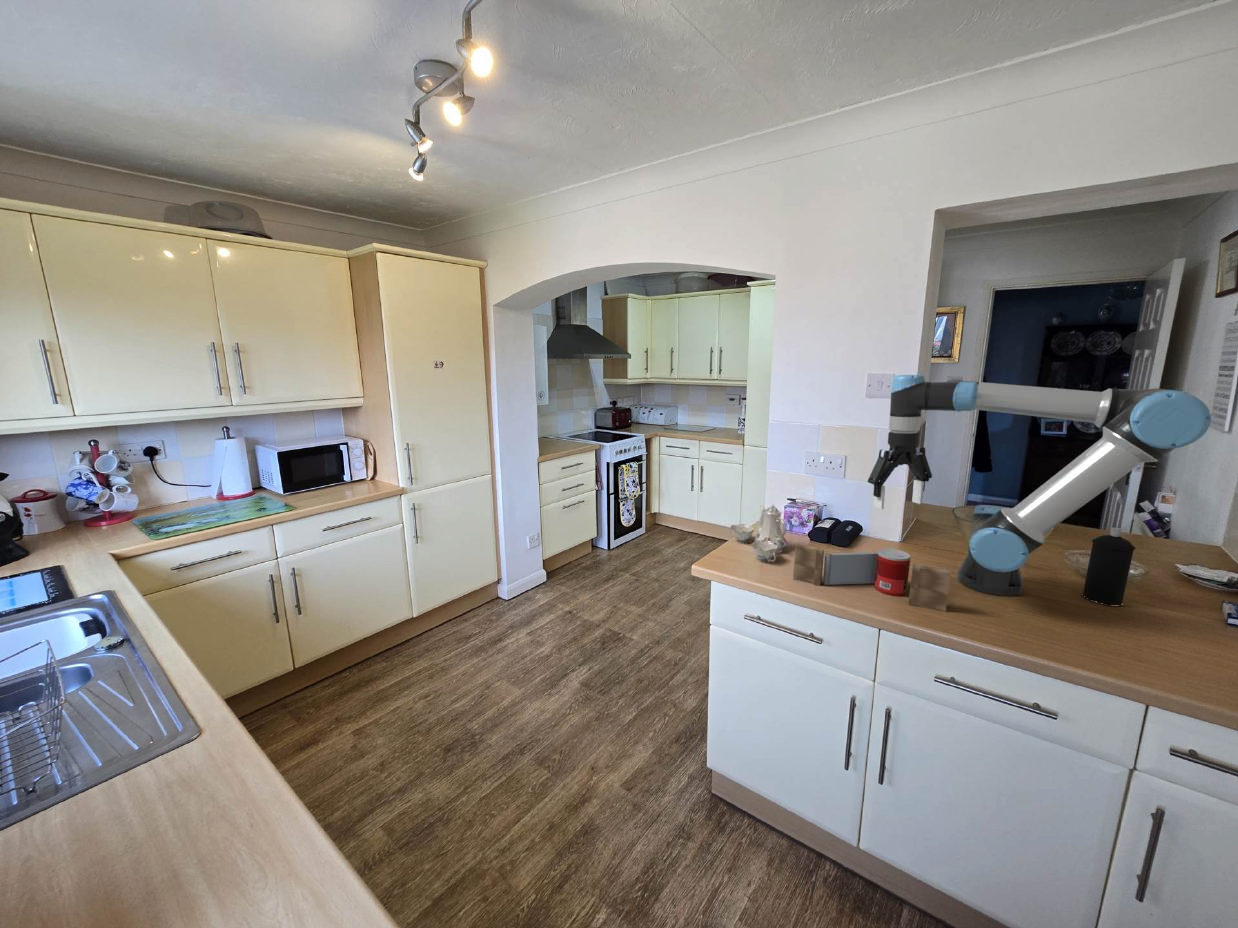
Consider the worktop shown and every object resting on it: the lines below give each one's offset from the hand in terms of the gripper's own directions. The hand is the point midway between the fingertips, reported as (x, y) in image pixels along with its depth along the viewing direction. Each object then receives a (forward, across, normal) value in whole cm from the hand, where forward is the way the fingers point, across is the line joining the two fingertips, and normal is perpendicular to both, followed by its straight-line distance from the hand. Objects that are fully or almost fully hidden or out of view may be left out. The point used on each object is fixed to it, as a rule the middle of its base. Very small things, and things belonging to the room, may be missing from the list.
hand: (898, 505), depth 141 cm
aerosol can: (+24, -44, +26) cm, 57 cm away
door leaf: (+22, +11, -1) cm, 25 cm away
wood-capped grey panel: (+23, +14, +4) cm, 27 cm away
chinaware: (+22, +22, -34) cm, 46 cm away
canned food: (+23, +5, +4) cm, 24 cm away
